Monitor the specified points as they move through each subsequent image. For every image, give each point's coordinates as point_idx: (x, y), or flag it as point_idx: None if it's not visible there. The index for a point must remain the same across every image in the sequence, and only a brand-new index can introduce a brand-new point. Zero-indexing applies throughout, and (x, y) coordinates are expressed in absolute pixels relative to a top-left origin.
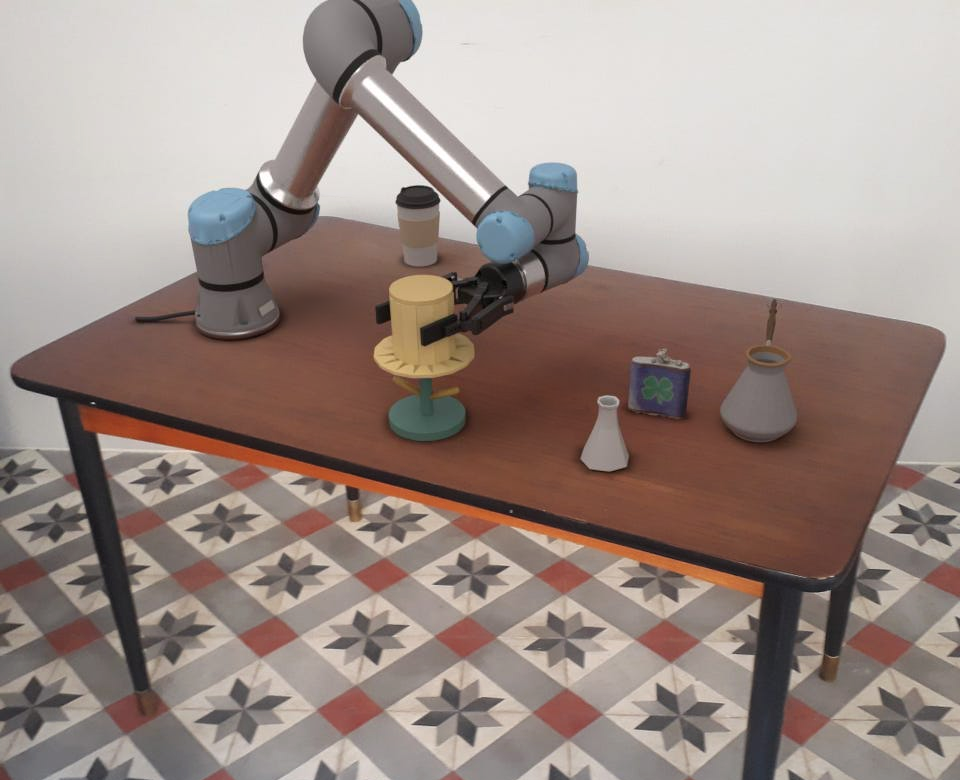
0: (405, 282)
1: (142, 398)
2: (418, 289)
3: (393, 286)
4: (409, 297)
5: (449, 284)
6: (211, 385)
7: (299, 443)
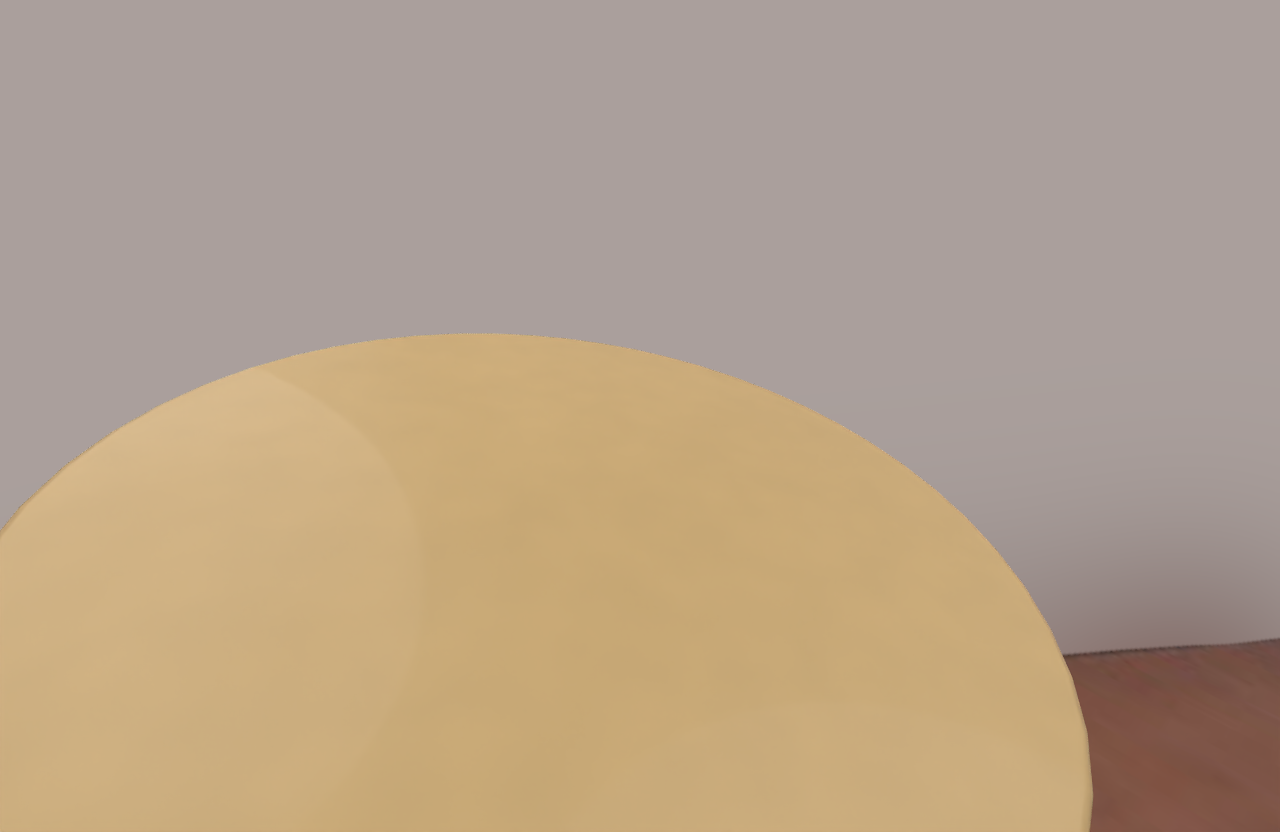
0: (867, 538)
1: (1205, 678)
2: (580, 457)
3: (849, 448)
4: (548, 357)
5: (29, 760)
6: (1260, 824)
7: None
